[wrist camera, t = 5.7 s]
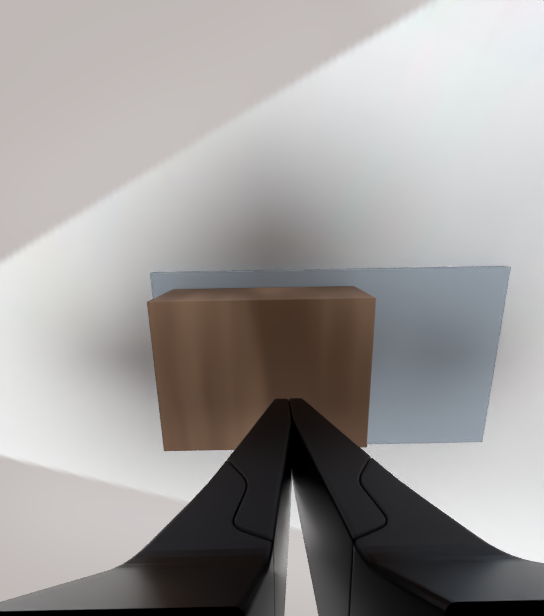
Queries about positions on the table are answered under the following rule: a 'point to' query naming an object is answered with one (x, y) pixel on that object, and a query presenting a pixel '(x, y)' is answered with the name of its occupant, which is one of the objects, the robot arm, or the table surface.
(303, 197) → the table surface
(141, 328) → the table surface
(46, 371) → the table surface
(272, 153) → the table surface
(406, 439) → the mat
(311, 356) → the walnut tile
